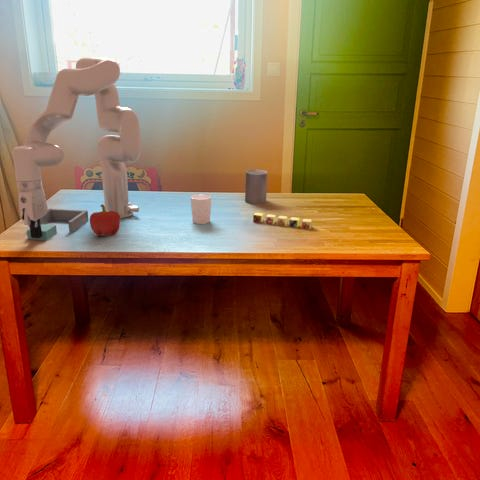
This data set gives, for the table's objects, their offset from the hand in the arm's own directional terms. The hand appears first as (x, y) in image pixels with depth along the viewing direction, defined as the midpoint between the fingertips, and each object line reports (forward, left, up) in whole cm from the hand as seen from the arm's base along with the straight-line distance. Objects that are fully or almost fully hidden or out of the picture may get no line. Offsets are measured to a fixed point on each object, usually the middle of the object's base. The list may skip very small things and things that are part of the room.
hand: (36, 237), depth 161 cm
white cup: (-51, -31, -2) cm, 60 cm away
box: (0, -17, -2) cm, 17 cm away
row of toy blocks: (-83, -31, -2) cm, 89 cm away
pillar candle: (-70, -64, -2) cm, 95 cm away
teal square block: (+1, -5, -2) cm, 6 cm away
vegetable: (-20, -11, -2) cm, 23 cm away
